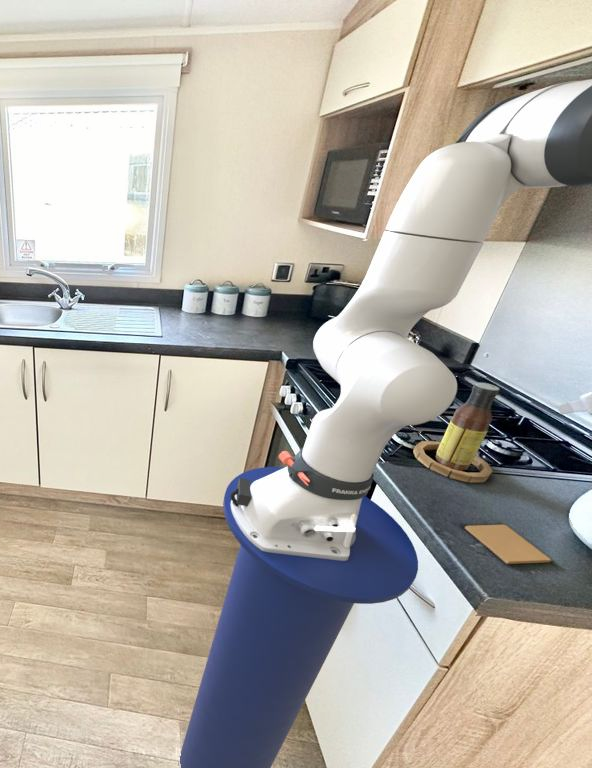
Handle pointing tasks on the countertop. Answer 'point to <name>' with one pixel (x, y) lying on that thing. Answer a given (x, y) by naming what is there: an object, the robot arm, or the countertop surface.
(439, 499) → the countertop surface
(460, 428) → the sauce bottle
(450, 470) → the birch ring
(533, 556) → the cork coaster
